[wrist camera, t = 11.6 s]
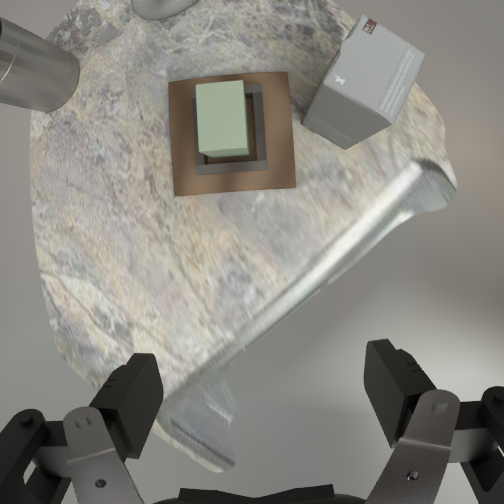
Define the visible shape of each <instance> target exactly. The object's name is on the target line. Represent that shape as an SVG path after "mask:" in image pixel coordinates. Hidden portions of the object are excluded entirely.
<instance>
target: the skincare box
mask: <svg viewBox="0 0 504 504" xmlns="http://www.w3.org/2000/svg"><path fill="white" fill-rule="evenodd" d="M424 58H425V54H424V53H422V52H421V51H419V50H418V49H416V48H415V47H414V46H412V45H411V44H409V43H408V42H406V41H405V40H403V39H402V38H400V37H399V36H397V35H396V34H394V33H393V32H391V31H389V30H388V29H386V28H384V27H383V26H381V25H380V24H378V23H376V22H375V21H373V20H371V19H369V18H368V17H366V16H364V15H362V16H361V17H360V18H359V19H358V21H357V22H356V24H355V25H354V27H353V28H352V30H351V31H350V33H349V35H348V36H347V38H346V39H345V40H344V41H343V43H342V45H341V47H340V49H339V50H338V52H337V53H336V55H335V57H334V58H333V60H332V61H331V63H330V65H329V67H328V69H327V71H326V73H325V75H324V77H323V79H322V81H321V83H320V85H319V87H318V90H317V92H316V94H315V96H314V98H313V100H312V102H311V104H310V106H309V108H308V110H307V112H306V115H305V117H304V119H303V121H302V123H301V124H302V125H303V126H305V127H307V128H309V129H311V130H312V131H314V132H316V133H318V134H319V135H321V136H323V137H325V138H326V139H328V140H330V141H331V142H333V143H335V144H337V145H338V146H340V147H342V148H343V149H345V150H346V149H348V148H350V147H352V146H353V145H355V144H357V143H359V142H361V141H362V140H364V139H366V138H368V137H370V136H372V135H373V134H375V133H377V132H379V131H381V130H383V129H385V128H386V127H388V126H390V125H393V124H394V122H395V120H396V118H397V116H398V114H399V113H400V111H401V109H402V106H403V104H404V102H405V100H406V98H407V96H408V94H409V92H410V90H411V88H412V86H413V84H414V81H415V79H416V77H417V74H418V72H419V70H420V68H421V65H422V63H423V60H424Z"/></svg>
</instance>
